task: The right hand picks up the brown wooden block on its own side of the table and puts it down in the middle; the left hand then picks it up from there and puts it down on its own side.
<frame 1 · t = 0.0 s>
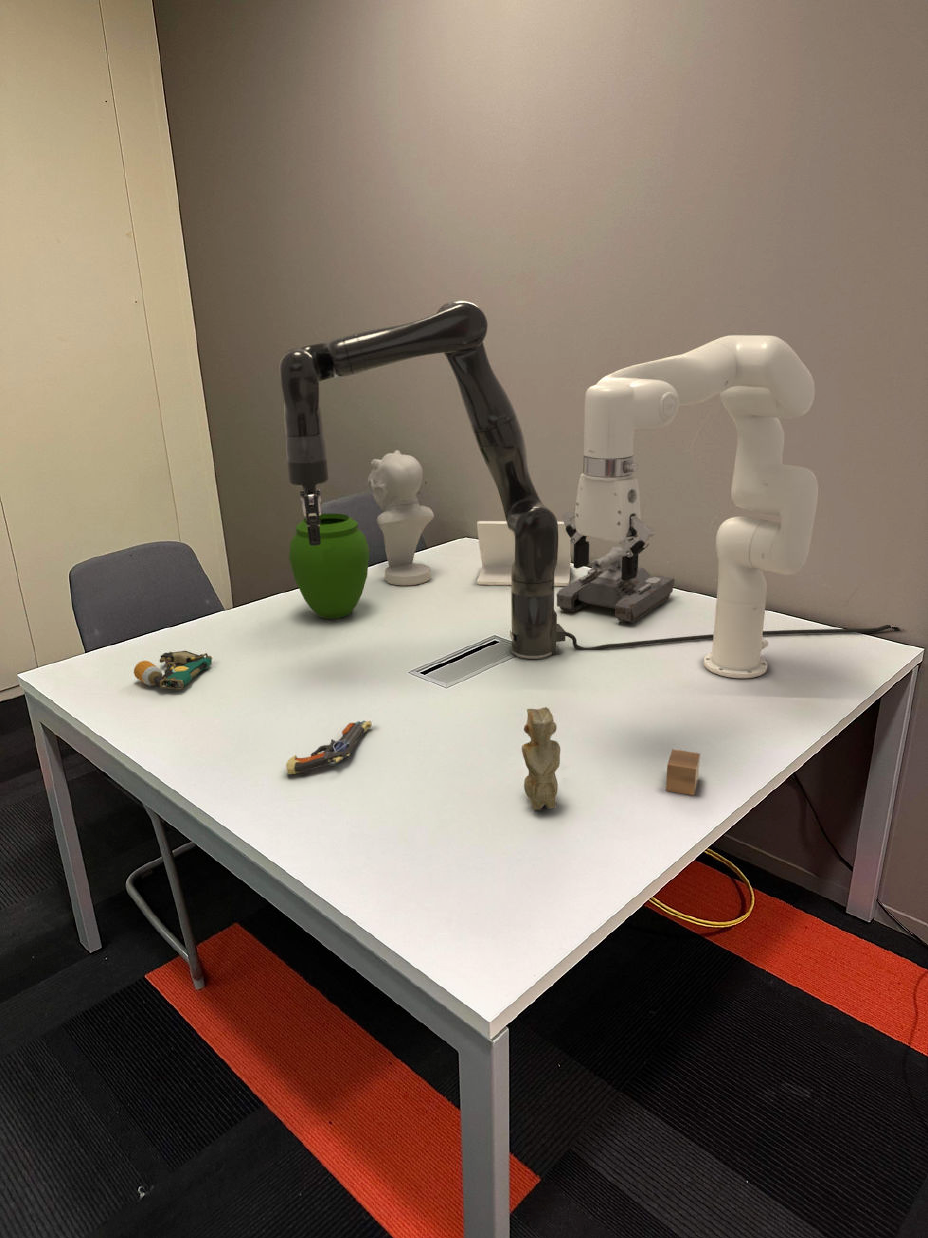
left hand: (314, 539, 170), 29 cm above the table, tool pointing down, fingers open, 8 cm apart
right hand: (604, 572, 138), 31 cm above the table, tool pointing down, fingers open, 9 cm apart
toy: (615, 605, 214), on the table
bust sculpture: (397, 577, 241), on the table
toy gun: (330, 751, 149), on the table
sculpture: (540, 802, 132), on the table
brown wooden block: (682, 785, 136), on the table
vase: (334, 614, 214), on the table
tablet stand: (525, 575, 239), on the table
spray gun: (177, 676, 181), on the table
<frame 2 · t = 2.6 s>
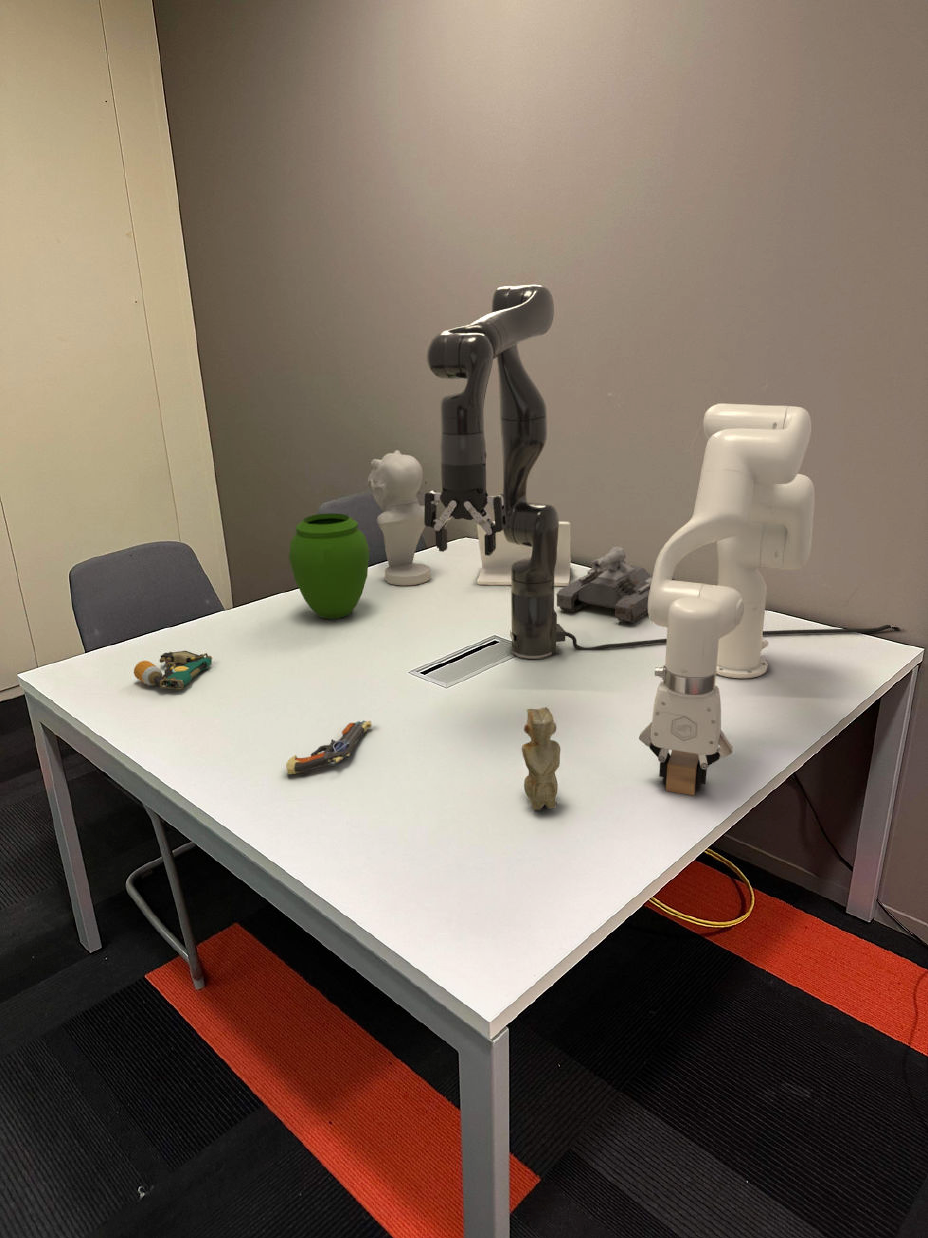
left hand: (465, 552, 148), 32 cm above the table, tool pointing down, fingers open, 8 cm apart
right hand: (682, 782, 135), 0 cm above the table, tool pointing down, fingers closed on brown wooden block, 4 cm apart
brown wooden block: (682, 785, 136), on the table, touching right hand
everything else where it was.
when the right hand's fingers open (1 cm above the table, at t = 7.5 s): brown wooden block stays where it is, on the table.
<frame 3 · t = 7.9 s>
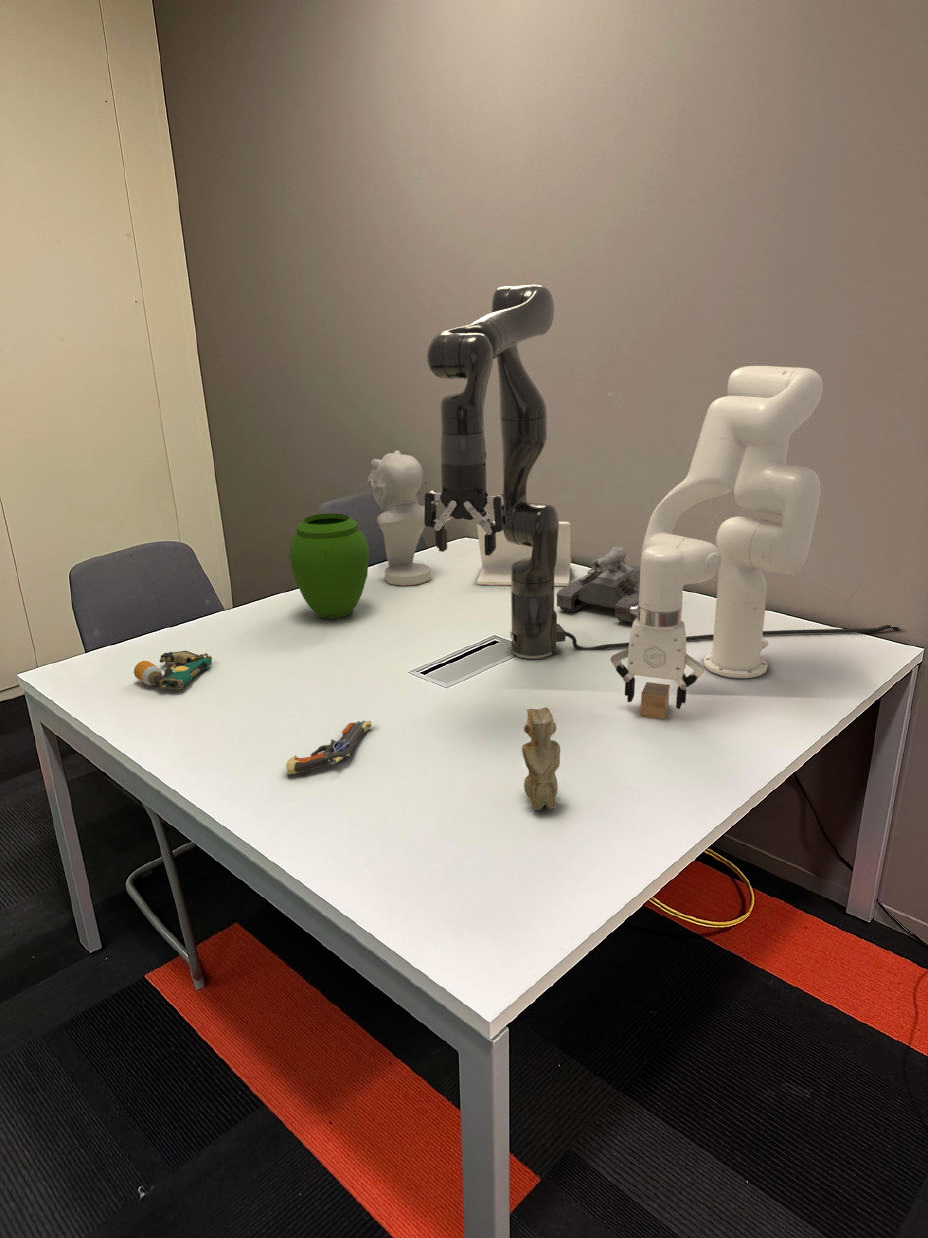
left hand: (465, 552, 148), 32 cm above the table, tool pointing down, fingers open, 8 cm apart
right hand: (654, 702, 159), 2 cm above the table, tool pointing down, fingers open, 8 cm apart
brown wooden block: (654, 711, 159), on the table
everything else where it was.
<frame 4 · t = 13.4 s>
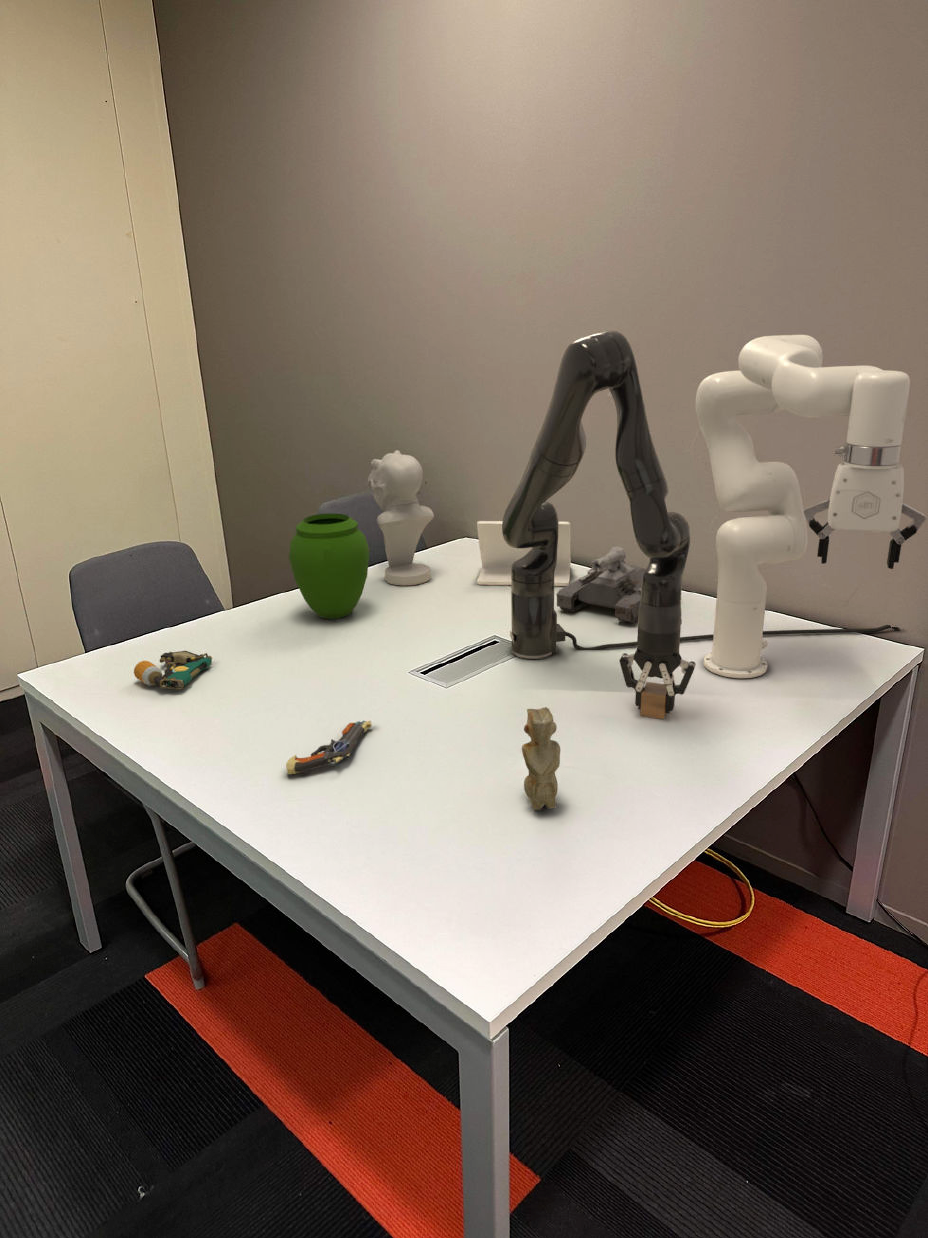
left hand: (654, 709, 159), 1 cm above the table, tool pointing down, fingers closed on brown wooden block, 4 cm apart
right hand: (856, 563, 135), 32 cm above the table, tool pointing down, fingers open, 9 cm apart
brown wooden block: (654, 711, 159), on the table, touching left hand
everything else where it was.
when the left hand's fingers open (1 cm above the table, at t = 23.8 s): brown wooden block stays where it is, on the table.
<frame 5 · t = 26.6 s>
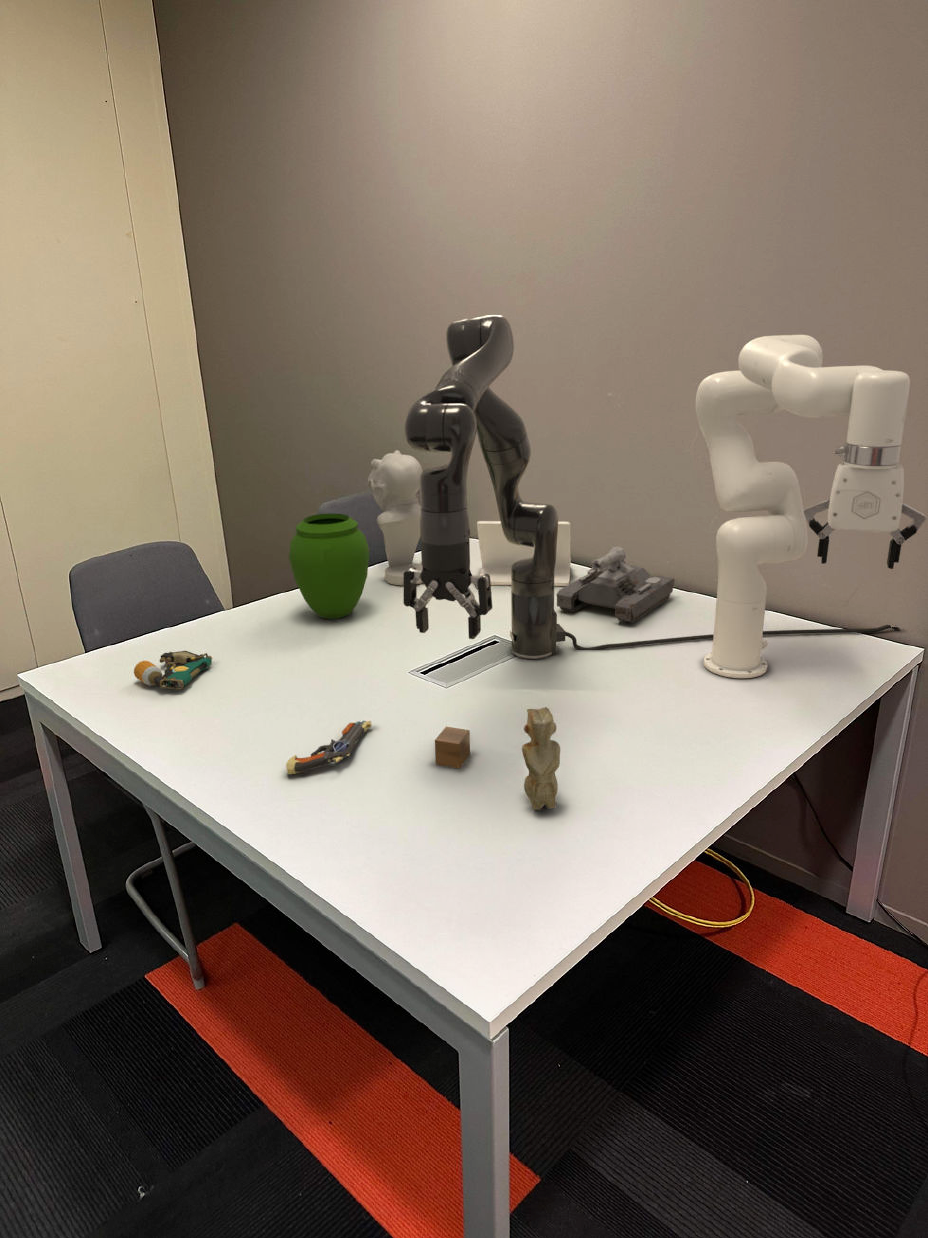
left hand: (448, 634, 137), 23 cm above the table, tool pointing down, fingers open, 8 cm apart
right hand: (856, 563, 135), 32 cm above the table, tool pointing down, fingers open, 9 cm apart
brown wooden block: (453, 759, 145), on the table
everything else where it was.
at the end: brown wooden block inside the target area (0.2 cm from its centre), on the table; brown wooden block tilted 0°; the two hands never held the brown wooden block at the same time; the left hand is holding nothing; the right hand is holding nothing; brown wooden block at rest at the end (0.0 cm/s) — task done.
